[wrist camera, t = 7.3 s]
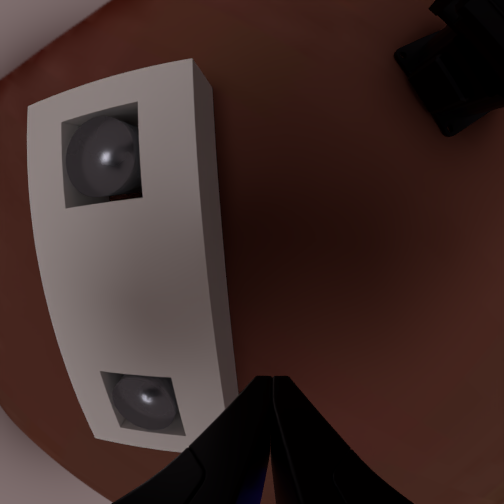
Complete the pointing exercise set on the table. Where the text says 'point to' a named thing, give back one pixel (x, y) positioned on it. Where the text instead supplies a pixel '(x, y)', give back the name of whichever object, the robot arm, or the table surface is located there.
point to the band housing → (137, 253)
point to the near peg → (105, 158)
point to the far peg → (146, 400)
